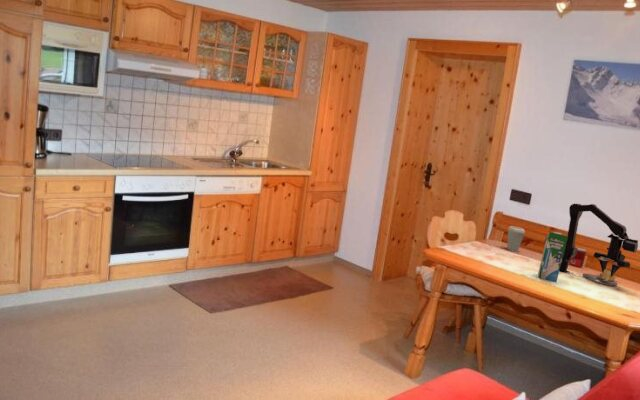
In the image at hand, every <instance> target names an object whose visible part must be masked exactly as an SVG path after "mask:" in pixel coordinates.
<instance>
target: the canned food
mask: <svg viewBox="0 0 640 400" xmlns="http://www.w3.org/2000/svg"><path fill="white" fill-rule="evenodd" d="M575 248H578V249H577V255H575V257H574V258H571V260H570V261H569V263H568V266H572V267H575V268H582V267H583V265H584V261H585V257H586V253H587V250H586V249H584V248H581V247H577V246H575Z"/></svg>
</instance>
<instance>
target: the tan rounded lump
mask: <svg viewBox="0 0 640 400" xmlns="http://www.w3.org/2000/svg"><path fill="white" fill-rule="evenodd" d="M611 270H612V269H610V268H607V267H606V268H604V270H603V273H602V272H600V273H599V274H600V275H599V277H600V278H603V279H606V280H610V281H611V280H612V281H614V279H615V280H616V278H615V277H616V276H615V275H614V276H611Z"/></svg>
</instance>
